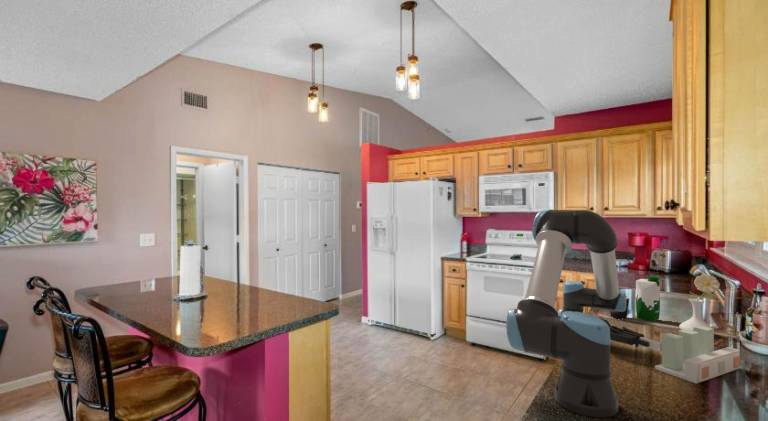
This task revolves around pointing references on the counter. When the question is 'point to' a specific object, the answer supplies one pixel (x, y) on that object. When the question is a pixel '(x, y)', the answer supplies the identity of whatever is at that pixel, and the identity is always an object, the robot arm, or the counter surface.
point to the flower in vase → (708, 286)
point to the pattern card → (719, 366)
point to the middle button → (689, 343)
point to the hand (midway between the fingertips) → (661, 347)
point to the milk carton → (648, 298)
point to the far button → (705, 339)
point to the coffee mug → (620, 314)
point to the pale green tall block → (672, 351)
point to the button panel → (696, 364)
